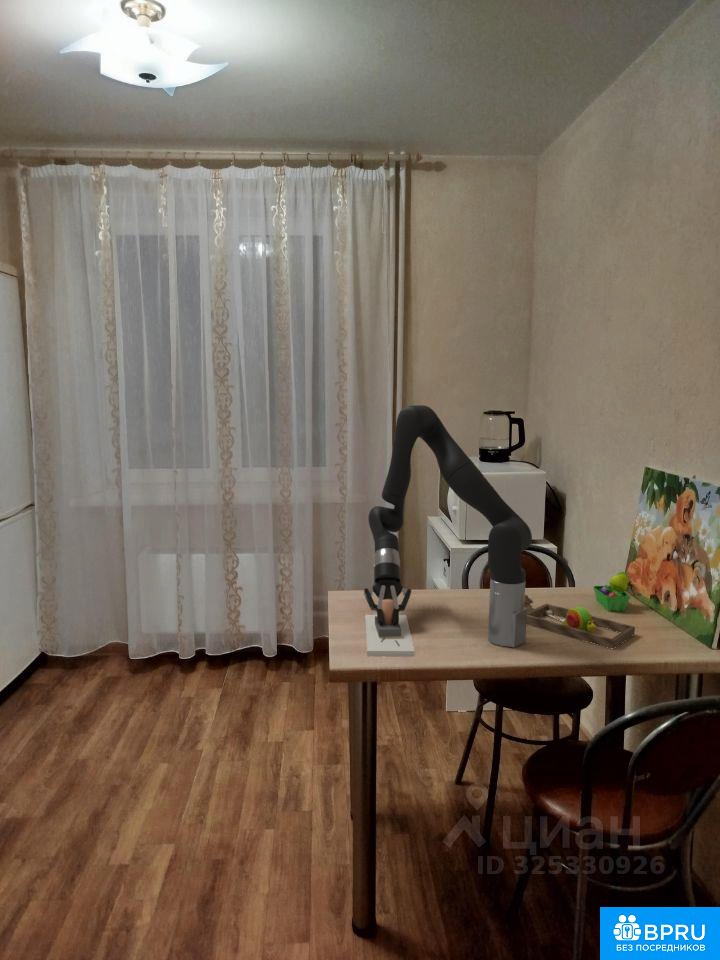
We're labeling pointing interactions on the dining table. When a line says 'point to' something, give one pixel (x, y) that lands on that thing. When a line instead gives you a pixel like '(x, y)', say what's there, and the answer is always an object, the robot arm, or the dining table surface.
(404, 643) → the marked board
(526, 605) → the wooden fragment
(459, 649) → the dining table surface
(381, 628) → the sanding block
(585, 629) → the toy snail
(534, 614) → the wooden tray
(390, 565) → the robot arm
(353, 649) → the dining table surface
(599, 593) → the fruit basket
